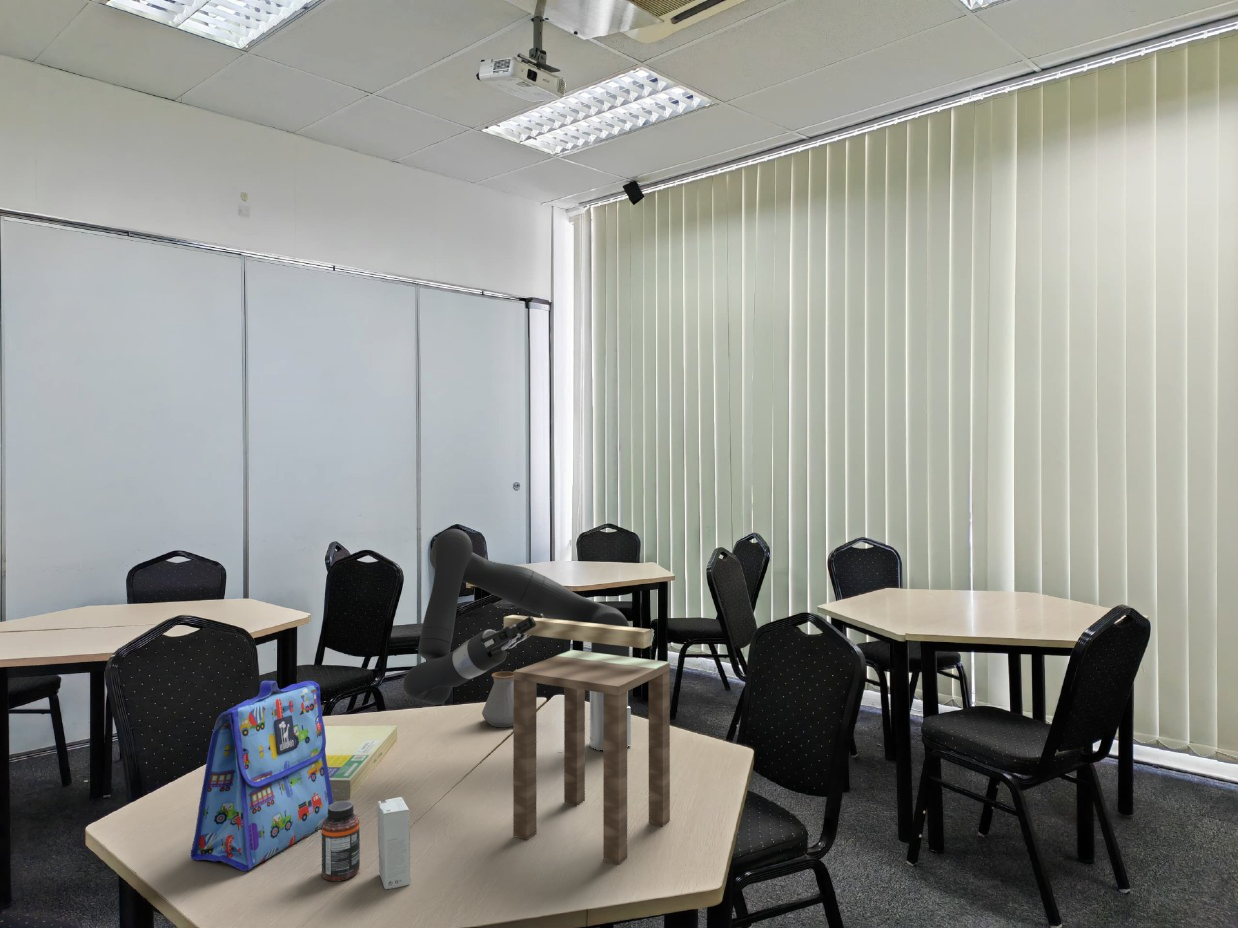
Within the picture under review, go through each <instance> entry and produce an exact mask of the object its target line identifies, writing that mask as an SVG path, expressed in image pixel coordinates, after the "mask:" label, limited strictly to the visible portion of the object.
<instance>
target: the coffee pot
mask: <svg viewBox="0 0 1238 928" xmlns="http://www.w3.org/2000/svg"><path fill="white" fill-rule="evenodd" d="M491 677H492V678H493V684H492V687H491V690H490V692H489V694H488V697H487V699H486V702H485V704H484V706H483V709H482V712H481V715H482V717H483V719H484V721H486V722H487V723H488V724H489V725H490V726H492V727H496V728H506V727H507V728H508V727H513V705H514V671H497V672H493V673H492V674H491Z"/></svg>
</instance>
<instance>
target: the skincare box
mask: <svg viewBox="0 0 1238 928" xmlns="http://www.w3.org/2000/svg"><path fill="white" fill-rule="evenodd" d="M377 836H378V838H377V839H378V843H377V844H378V872H379V873H378V874H379V876H380V879H381V882H382V884H383V888H384V889H385V890H391V889H396V888H401V887H405V886H408V885H411V880H412V879H411V847H410V846H411V843H410V809H409V807H408V805H407V804H406V801H404V798H403V796H399V797H393V798H389V799H383V800H379V801H377Z"/></svg>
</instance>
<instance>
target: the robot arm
mask: <svg viewBox="0 0 1238 928" xmlns="http://www.w3.org/2000/svg"><path fill="white" fill-rule="evenodd" d="M473 550H474V549H473V542H472V540H471V538H470V536H469V535H468V534H467V533H466V532H465V531H463V530H461V529H458V528H450V529H446V530H444V531H442V532H441V533H440V534H439V535H438V536H437V537H436V539H435V540H434V542H433V545H432V547H431V550H430V553H429V562H430V565H431V566H432V567H433V569H434V578H433V582H432V589H431V592H430V596H429V600H428V603H427V607H426V609H425V610H426V611H425V614H424V618H423V621H422V627H421V633H420V637H419V643H418V647H417V648H418V650H417V651H418V654H419V655H420V656H421V657H422V658H423V659H424V660H426V661H423V662H421V663H418V664H416V665H414V666H413V667H411V668H410V669H409V670H408V672H407V673H406V675H405V676H404V679H403V682H402V690H403V691H404V694H405V695H406V696H408V698H411V699H414V700H417V701H420V702H423V703H426V704H431V705H436V706H437V705H438V706H439V705H442V704H443V703H445V702H446V701H447V700H448V698H449V697H450V695H451V693H452V690H453V688H454V687H456V688H457V687H459V686H461V685H463V684H465V683H467V682H468V681H470V680H472V679H474V678H475V677H478V676H479V677H480V675H482V674H484V673H486V672H487V671H490V670H491V669H492V668H495V667H496V666H498V665H500V664H502V663H503V662H504V661H506V658H507V656H508V650H510V649H512V648H514V647H516V646H517V644H519V643H520V642H522V641H526V640H527V639H528V638H529V637H530V636H532V635H525V634H523V633H525V632H527V631H528V630H530V629H532V628H533V627H535V626H536V623H535V621H534V618H533V617H537V618H547V619H557V620H566V621H576V622H585V623H595V624H605V625H614V626H624V627H630V625H629V622H628V620H627V618H626V616H625V615H624V614H623V613H622V612H621V611H620V609H618V608H616V607H613V606H610V605H607V604H603V603H601V602H597V601H594V600H592V599H589V598H587V597H585V596H581V595H579V594H577V593H576V592H573V590H571V589H569V588H567V587H565V586H564V585H562V584H561V583H559V582H557V581H555V580H553V579H551V578H549V577H548V576H545V575H543V574H542V573H539V572H537V571H535V570H533V569H530V568H527V567H525V566H519V565H514V564H508V563H507V564H506V563H500V562H495V561H492V560H489V559H486V558H484V557H483V556H481V555H478V554H476V553H475V552H473ZM462 583H465V584H469V585H471V586H474V587H476V588H479V589H482V590H484V591H485V592H487V593H489V594H492V595H493V596H496V597H498V598H499V599H500V598H501V599H503V600H504V601H506V602H508V603H510V604H512V605H514V606H516V607H519V608H521V609H523V610H524V611H527V612H530V613H532V614H534V615H535V616H531V615H530V616H528V618H526V619H524V620H523V621H521V622H519V623H518V624H513V625H512V626H511V627H509V626H508V627H505V628H504V627H503V628H502V629H501V630H498V631H496V630H494V629H491V628H489V629H485V630H483V631H481V632H479V633H478V634H476V635H474V636H472V637H471V638H470V639H468V640H466V641H465V642H463V643H462V644H461V645H459V646H458V647H457V648H456V649H454V650H453V651H451V648H452V643H453V636H454V631H455V623H456V618H457V617H456V616H457V609H458V602H459V597H460V596H459V595H460V591H461V586H462ZM590 643H591V645H590V647H591V648H590V649H591V650H590V652H593V653H601V654H609V655H617V656H625V657H630V647H627V646H619V645H610V644H602V643H593V642H590ZM628 692H629V691H627V746H628V745H632V744H631V743H632V742H631V741H632V737H631V736H632V734H631V732H632V728H631V727H632V726H631V725H632V721H631V719H632V718H631V717H632V716H631V715H632V712H631V711H632V710H631V709H632V708H631V706H630V705H629V703H628V702H629V699H628V698H629V693H628ZM589 746H590V748H592V749H593V748H594V749H593V750H595V749H596V751H600V750H603V693H600V692H593V691H589Z"/></svg>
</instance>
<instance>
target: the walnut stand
mask: <svg viewBox="0 0 1238 928" xmlns="http://www.w3.org/2000/svg"><path fill="white" fill-rule="evenodd" d="M670 666H671V665H670V661H664V660H656V659H648V658H639V657H630V656H629V657H625V656H617V655H609V654H601V653H593V652H591V651H584V650H574V649H570V650H567V651H565V652H562V653H559V654H557V655H555V656H553V657H549V658H547V659H544V660H541V661H537V662H536V663H535V662H534V663H533V664H529V665H526V666H524V667H521V668H519V669H515V670H513V672H514V705H513V726H512V727H513V738H512V739H513V744H512V745H513V746H512V747H513V748H512V750H513V755H512V756H513V762H512V765H513V768H512V769H513V770H512V771H513V775H512V777H513V779H512V781H513V786H512V787H513V792H512V793H513V801H512V802H513V805H512V806H513V807H512V808H513V811H512V812H513V815H512V817H513V818H512V820H513V823H512V824H513V825H512V827H513V833H512V834H513V836H512V837H514V838H518V839H522V840H525V841H528V840H529V839H530V838H532V837H534V836H536V835H537V695H538V694H537V693H538V692H537V691H538V690H537V684H542V685H547V686H555V687H562V688H563V689H564V690H563V692H564V693H563V694H564V695H563V696H564V699H563V701H564V707H563V710H564V712H563V714H564V715H563V717H564V720H563V726H564V728H563V729H564V730H563V731H564V734H563V740H564V741H563V742H564V744H563V745H564V746H563V747H564V749H563V753H564V755H563V758H564V759H563V761H564V762H563V763H564V765H563V768H564V771H563V772H564V773H563V775H564V776H563V786H564V787H563V789H564V790H563V794H564V795H563V799H564V800H563V801H564V802H563V803H564V804H566V803H567V805H572V806H575V807H577V805H578V806H579V805H581V804H582V803H583V801H584V802H585V801H586V691H588V692H590V691H593V692H600V693H603V751H602V752H603V759H602V760H603V777H602V778H603V792H602V793H603V796H602V797H603V804H602V805H603V807H602V808H603V810H602V811H603V814H602V817H603V829H602V830H603V835H602V836H603V846H602V847H603V852H602V853H603V862H606V863H611V864H615V865H620V864H621V863H623V862H624V861H625V860H626V859H627V858H628V747H627V691H628V692H629V691H630V690H633V689H634V688H636V687H639V686H640V685H642V684H644V683H647V682H648V823H649V824H651V823H652V825H656V826H659V827H664V826H665V825H666V824H667V823H669V822H670V821H671V807H670V806H671V790H670V789H671V783H670V782H671V763H670V761H671V752H670V751H671V741H670V740H671V736H670V735H671V734H670V733H671V732H670V731H671V728H670V727H671V726H670V725H671V722H670V720H671V719H670V718H671V717H670V715H671V712H670V711H671V708H670V707H671V705H670V703H671V702H670V701H671V698H670V697H671V692H670V691H671V688H670V687H671V686H670V685H671V684H670V683H671V681H670V677H671V675H670V674H671V668H670ZM580 803H581V804H580ZM669 820H670V821H669Z"/></svg>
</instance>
